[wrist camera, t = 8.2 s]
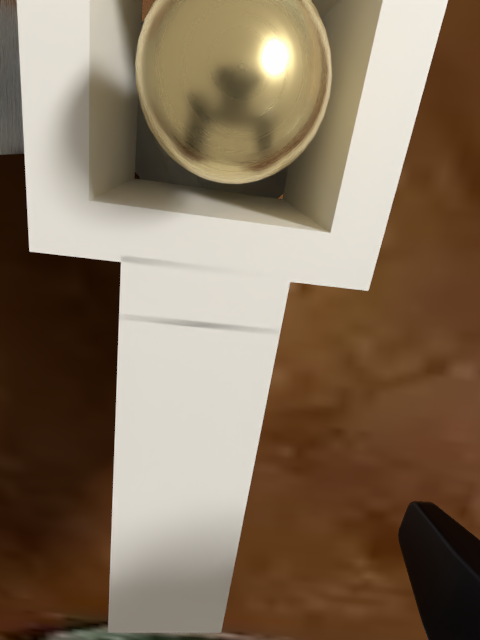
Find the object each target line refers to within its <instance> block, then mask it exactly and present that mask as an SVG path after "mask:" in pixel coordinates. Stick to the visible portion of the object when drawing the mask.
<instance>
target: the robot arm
mask: <svg viewBox="0 0 480 640" xmlns="http://www.w3.org/2000/svg"><path fill="white" fill-rule="evenodd" d="M398 536H399V544H400V547H401V551H402V554H403V558H404V561H405V565H406V568H407V572H408V575H409V579H410V582H411V586H412V589H413V593H414V596H415V600H416V603H417V607H418V610H419V613H420V616H421V620H422V623H423V626H424V629H425V631H426V634H427V637H428V640H480V540H479V539H478V538H476V537H475V536H474V535H473V534H471V533H470V532H469V531H468V530H466V529H465V528H464V527H463V526H461V525H460V524H459V523H458V522H456V521H455V520H454V519H453V518H451V517H450V516H449V515H448V514H446V513H445V512H444V511H443V510H441V509H440V508H439V507H438V506H436V505H435V504H433V503H431V502H422V501H413V502H411V503H410V504H409V506H408V508H407V510H406V513H405V516H404V518H403V521H402V523H401V526H400V528H399V534H398Z"/></svg>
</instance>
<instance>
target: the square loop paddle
mask: <svg viewBox="0 0 480 640" xmlns="http://www.w3.org/2000/svg"><path fill="white" fill-rule="evenodd" d="M311 1H312V2H313V4H314V5H315V7H316V8H317V10H318V13H319V15H320V17H321V20H322V22H323V24H324V27H325V29H326V33H327V37H328V41H329V46H330V50H331V62H332V82H331V91H330V98H329V102H328V105H327V109H326V112H325V116H324V118H323V120H322V122H321V125H320V127H319V129H318V131H317V133H316V135H315V136H314V138H313V139H312V141H311V142H310V143H309V145H308V146H307V148H306V149H305V150H304V152H303V153H301V154H300V155H299V156H298V157H297V158H296V159H295V160H294V161H293V162H292V163H291V164H290V165H289V166H288V172H287V178H286V183H285V189H284V195H283V199H276V198H269V197H262V196H255V195H248V194H241V193H234V192H227V191H220V190H213V189H205V188H198V187H191V186H184V185H177V184H170V183H163V182H156V181H149V180H142V179H135V157H136V134H137V112H138V91H137V87H136V70H135V60H136V53H137V45H138V39H139V36H140V33H141V21H142V0H17V16H18V36H19V56H20V76H21V96H22V116H23V135H24V155H25V175H26V195H27V215H28V235H29V252H37V253H46V254H55V255H63V256H72V257H81V258H89V259H98V260H107V261H115V262H121V275H120V303H119V332H118V360H117V389H116V417H115V446H114V475H113V503H112V532H111V560H110V589H109V617H108V632H125V633H221V630H222V625H223V620H224V615H225V610H226V605H227V600H228V594H229V589H230V584H231V579H232V574H233V569H234V564H235V559H236V554H237V549H238V544H239V539H240V534H241V528H242V523H243V518H244V513H245V508H246V503H247V498H248V493H249V488H250V483H251V478H252V473H253V468H254V463H255V457H256V452H257V447H258V442H259V437H260V432H261V427H262V422H263V417H264V412H265V407H266V402H267V397H268V391H269V386H270V381H271V376H272V371H273V366H274V361H275V356H276V351H277V346H278V341H279V336H280V331H281V325H282V320H283V315H284V310H285V305H286V300H287V295H288V290H289V285H290V282H297V283H306V284H314V285H323V286H332V287H340V288H349V289H358V290H366V291H368V290H369V287H370V283H371V279H372V276H373V272H374V268H375V265H376V261H377V258H378V254H379V250H380V247H381V243H382V239H383V236H384V232H385V228H386V225H387V221H388V217H389V214H390V210H391V206H392V203H393V199H394V196H395V192H396V188H397V185H398V181H399V177H400V174H401V170H402V166H403V163H404V159H405V155H406V152H407V148H408V144H409V141H410V137H411V133H412V130H413V126H414V123H415V119H416V115H417V112H418V108H419V104H420V101H421V97H422V93H423V90H424V86H425V82H426V79H427V75H428V71H429V68H430V64H431V60H432V57H433V53H434V50H435V46H436V42H437V39H438V35H439V31H440V28H441V24H442V20H443V17H444V13H445V9H446V6H447V2H448V0H311Z"/></svg>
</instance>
